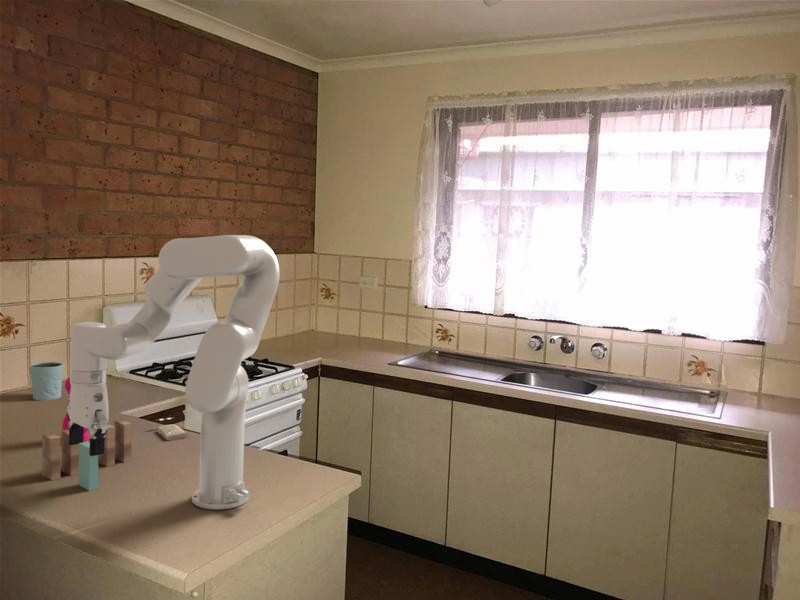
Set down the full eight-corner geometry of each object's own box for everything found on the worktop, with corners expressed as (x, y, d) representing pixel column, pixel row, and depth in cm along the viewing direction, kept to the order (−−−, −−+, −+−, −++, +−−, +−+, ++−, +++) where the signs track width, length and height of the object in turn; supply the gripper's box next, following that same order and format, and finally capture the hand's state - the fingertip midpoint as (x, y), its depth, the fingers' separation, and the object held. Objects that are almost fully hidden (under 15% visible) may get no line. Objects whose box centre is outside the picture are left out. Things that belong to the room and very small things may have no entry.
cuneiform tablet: (174, 417, 202) (187, 427, 192) (174, 429, 202) (187, 440, 193) (154, 419, 199) (167, 430, 189) (154, 432, 199) (167, 443, 189)
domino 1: (60, 478, 159) (60, 437, 158) (51, 480, 158) (51, 439, 157) (50, 472, 162) (50, 432, 162) (42, 474, 161) (42, 434, 160)
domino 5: (131, 461, 173) (131, 423, 173) (124, 462, 172) (124, 424, 171) (121, 456, 177) (121, 419, 176) (114, 458, 175) (114, 420, 174)
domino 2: (79, 473, 163) (79, 433, 162) (71, 475, 161) (71, 435, 160) (69, 468, 166) (69, 429, 165) (61, 470, 164) (61, 430, 164)
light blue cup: (64, 400, 229) (65, 366, 228) (31, 403, 223) (31, 368, 222) (60, 394, 237) (60, 360, 236) (28, 396, 232) (28, 362, 230)
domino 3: (97, 488, 154) (98, 446, 153) (89, 490, 153) (89, 448, 152) (87, 482, 157) (87, 441, 156) (78, 485, 156) (79, 443, 155)
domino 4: (114, 465, 170) (115, 426, 169) (107, 467, 168) (107, 428, 167) (104, 460, 173) (105, 422, 172) (97, 462, 171) (97, 423, 171)
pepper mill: (94, 441, 188) (95, 371, 186) (68, 446, 183) (68, 374, 181) (84, 435, 193) (84, 366, 191) (57, 439, 187) (58, 369, 186)
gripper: (123, 381, 150) (121, 455, 152) (86, 367, 161) (84, 437, 163) (90, 385, 144) (88, 462, 146) (54, 371, 155) (52, 443, 157)
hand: (86, 449), depth 154 cm, fingers open, 9 cm apart
